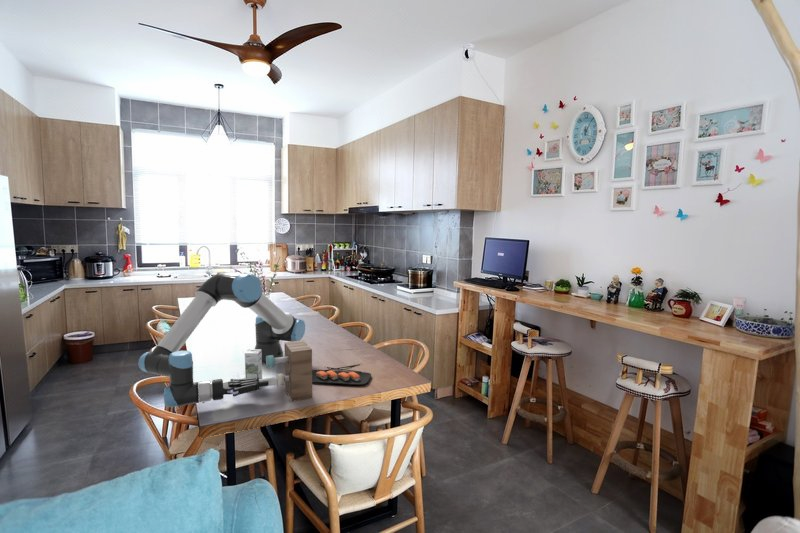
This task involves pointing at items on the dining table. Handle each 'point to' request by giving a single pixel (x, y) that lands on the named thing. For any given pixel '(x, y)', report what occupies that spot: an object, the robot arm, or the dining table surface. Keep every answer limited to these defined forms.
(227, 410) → the dining table surface
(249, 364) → the syrup box
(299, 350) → the block
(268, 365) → the teal knob
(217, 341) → the dining table surface
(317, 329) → the dining table surface
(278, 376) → the cream knob
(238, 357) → the dining table surface
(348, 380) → the sushi plate
